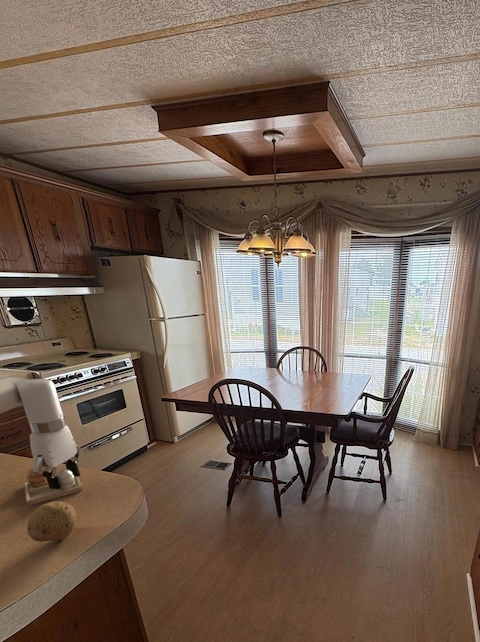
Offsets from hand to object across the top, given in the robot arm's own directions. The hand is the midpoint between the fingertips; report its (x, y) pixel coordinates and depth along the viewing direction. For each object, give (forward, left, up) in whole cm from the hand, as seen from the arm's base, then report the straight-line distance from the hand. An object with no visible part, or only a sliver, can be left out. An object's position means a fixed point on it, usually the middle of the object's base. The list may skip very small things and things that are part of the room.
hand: (65, 481), depth 100 cm
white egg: (0, 0, -3) cm, 3 cm away
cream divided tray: (-4, +1, -3) cm, 5 cm away
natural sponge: (+7, -24, -3) cm, 25 cm away
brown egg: (-8, +3, -3) cm, 9 cm away
